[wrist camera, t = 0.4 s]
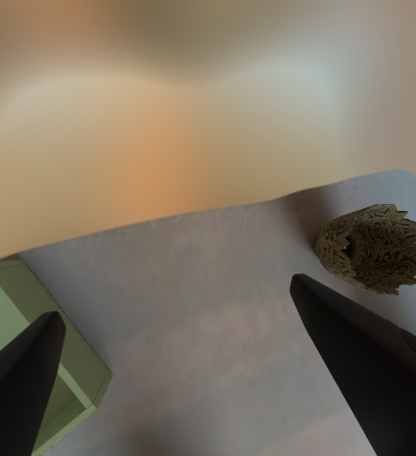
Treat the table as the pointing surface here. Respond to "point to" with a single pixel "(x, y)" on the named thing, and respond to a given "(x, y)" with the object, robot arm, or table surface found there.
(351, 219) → the cup
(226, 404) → the table surface
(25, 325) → the holder
